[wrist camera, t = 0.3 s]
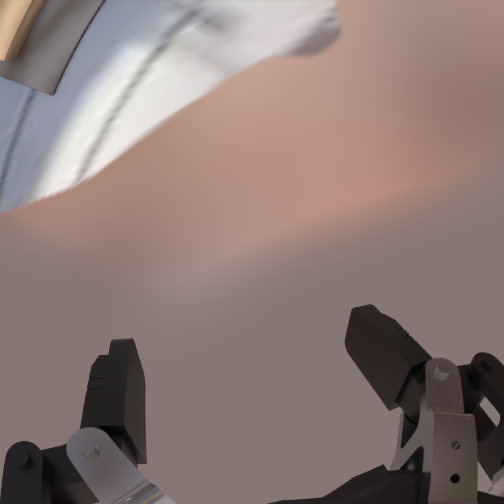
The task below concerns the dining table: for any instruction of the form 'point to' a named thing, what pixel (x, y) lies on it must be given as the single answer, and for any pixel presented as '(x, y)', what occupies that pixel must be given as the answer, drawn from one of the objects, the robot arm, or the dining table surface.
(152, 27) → the dining table surface
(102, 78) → the dining table surface
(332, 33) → the dining table surface
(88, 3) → the plinth
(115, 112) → the dining table surface
